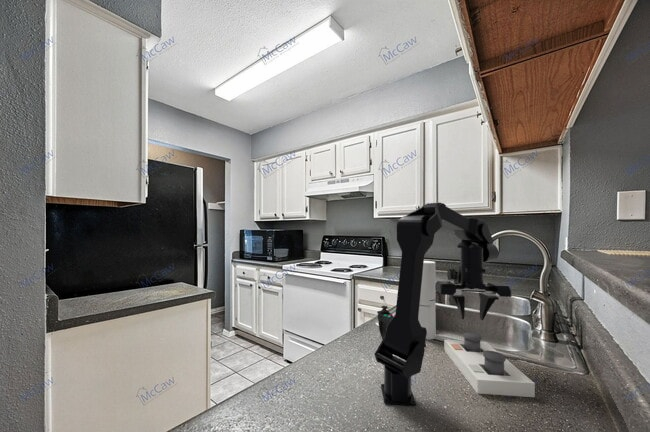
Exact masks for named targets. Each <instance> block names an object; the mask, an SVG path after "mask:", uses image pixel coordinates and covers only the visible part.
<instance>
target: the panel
mask: <svg viewBox="0 0 650 432" xmlns="http://www.w3.org/2000/svg"><path fill="white" fill-rule="evenodd" d="M443 345H444V346H443V349H444V352H445V353H446V354H447V355H448V357H449V358H450V359H451V360H452V362H453V363H454V365H455V366H456V367H457V369H458V370H459V371H460V373H461V374H462V375H463V376H464V378H465V379H466V381H467V382H468V383H469V385H470V386H471V387H472V388H473V389H474V391H475V392H476V393H477V394H478V395H479V394H481V395H492V396H493V395H494V396H495V395H496V396H509V397H511V396H512V397H527V398H536V396H535V395H536V389H535V388H536V386H535V385H536V383H535V382H534V381H533V380H531V379H530V378H529V377H528V376H527V375H526V374H524V373H523V372H522V371H521V370H519V368H517V367H516V366H515V365H514V364H513V363H511V361H509V360H508V359H507V358H506V360H505V362H504V376H500V375H488V374H487V373H486V372H485V357H484V356H483V352H484V351H495V352H498V350H496V349H495V348H494V347H493V346H492V345H490V344H489V343H488V342H486V341H480V352H467V351H466V350H465V349H464V340H455V339H444V341H443Z"/></svg>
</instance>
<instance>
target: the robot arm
mask: <svg viewBox="0 0 650 432" xmlns="http://www.w3.org/2000/svg"><path fill="white" fill-rule="evenodd" d="M442 227H446V228H447V229H450V230H452V231H453V234H454V235H455V236H456V237H457V238H458V239H460V240H461V241H460V242H459V243H458V244H457V246H456V247H457V248H460V265H458V266H459V267H458V271H457V270H456V269H454V268H449V269H448V268H447V273H446V274H447V281H446V280H437V281H436V284H435V290H436V292H438V294H440V295H446V296H447V295H448V296H450V297H451V298H452V299H453V300H454V303H455V304H456V308H457V311H458V314H459V316H460V318H461V319H462V320H464V319H465V313H466V312H465V311H466V309H465V308H466V307H465V306H466V305H465V303H466V302H465V301H466V299H465V298H466V297H465V296H464V295H462V294H463V292H464V293H465V292H466V293H468V292H469V293H478V296H479V319H480V320H481V321H484V319H485V317H486V316H487V314H488V312H489V310H490V308H491V307H492V305H493V304H494V303H495V302H496V300H497V301H499V300H500V297H501V298H502V297H503V298H504V297H505V298H511V297H513V295H512V292H513V291H512V289H511V287H510V286H509V285H507V284H504V283H501V282H487V284H485V283H484V274H486V268H484V263H490V262H495V261H497V259H498V258H499V256H500V251H499V249H498V247H497V246H496V245H495V244H494V239H493V237H492V234H491V231H490V229H489V226H488V224H487V223H486V222H485V221H484V219H480V218H473V217H466V216H465V215H463V214H461V213H459V212H457V211H455V210H453V209H451V208H449V206H447V205H446V204H445V203H442V202H427V203H425V204H423V205H422V206H421V207H420V208H418V209H416V210H413V211H411V212H410V213H408V214H406V215H404V216H401V217H400V219H398V220H397V223H396V242H397V244H398V246H399V248H400V251H401V259H400V267H399V277H398V278H399V279H398V285H397V286H398V288H397V296H396V305H395V314H394V316H393V318H392V320H391V321H390V322H389V324H388V325H387V329H386V334H385V337H384V339H383V338H382V340H381V342H380V344H379V345H378V347H377V349H376V351H375V352H374V358H375V361H376V362H377V363H379V364H381V365H383V367H384V369H383V371H384V372H383V375H384V376H383V383H381V384H380V388H381V394H382V398H383V403H384V404H388V405H400V406H401V405H402V406H416V405H417V403H416V399H415V397H414V394H413V391H412V377H413V376H415V375H417V374H419V373H421V370H422V365H423V362H424V361H423V360H424V356H425V351H426V349H425V348H427V345H426V341H427V339H426V335H427V331H426V328H424V327H422V326H421V325H420V322H419V320H418V315H419V305H420V294H421V284H422V273H423V263H424V261H425V255H426V254H427V252H428V251H429V249H430V248H431V246H433V244H434V239H435V234H436V233H438V231H439V230H440V229H441V228H442ZM451 281H453V282H451ZM497 295H498V296H497Z"/></svg>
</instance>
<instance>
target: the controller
mask: <svg viewBox="0 0 650 432" xmlns="http://www.w3.org/2000/svg"><path fill="white" fill-rule="evenodd" d="M380 307H381V309H380V310H377V312H376V313H377V321H378V322H377V323H378V330H379V334H380V337H381V338H382V340H383V339H384V337H385V334H386V329H387V325H388V324H389V322H390V321H391V320H392V318H393V317H394V316H393V315H394V314H392V313H391V312H390V311H389V310H388V305H381V306H380Z"/></svg>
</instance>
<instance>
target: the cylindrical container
mask: <svg viewBox="0 0 650 432" xmlns="http://www.w3.org/2000/svg"><path fill="white" fill-rule="evenodd" d="M436 268H437V265H436V261H433V260H432V261H431V260H424V263H423V273H422V284H421V294H420V305H419V315H418V320H419V322H420V325H421V326H422V327H424V328H426V331H427V335H426V341H427V340H434V339H436V337H435V336H436V335H437V334H436V332H437V331H436V327H437V326H436V318H437V317H436V310H437V309H436V306H437V305H436V304H437V301H436V292H437V291H436V290H435V284H436V282H437V281H436V280H437V279H436V277H437V275H436V273H437V272H436V271H437V270H436Z"/></svg>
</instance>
